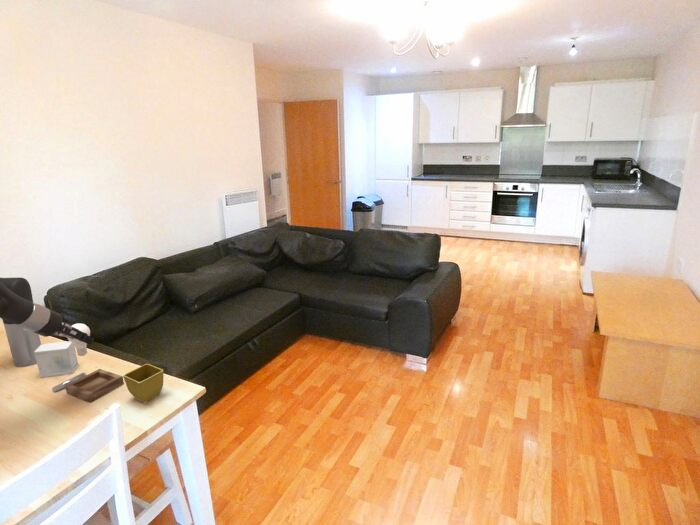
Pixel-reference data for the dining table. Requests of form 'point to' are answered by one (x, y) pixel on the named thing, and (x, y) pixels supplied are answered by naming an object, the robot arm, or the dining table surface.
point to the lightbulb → (78, 344)
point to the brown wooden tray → (94, 385)
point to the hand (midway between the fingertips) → (85, 339)
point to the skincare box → (56, 358)
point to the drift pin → (67, 382)
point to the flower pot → (144, 382)
